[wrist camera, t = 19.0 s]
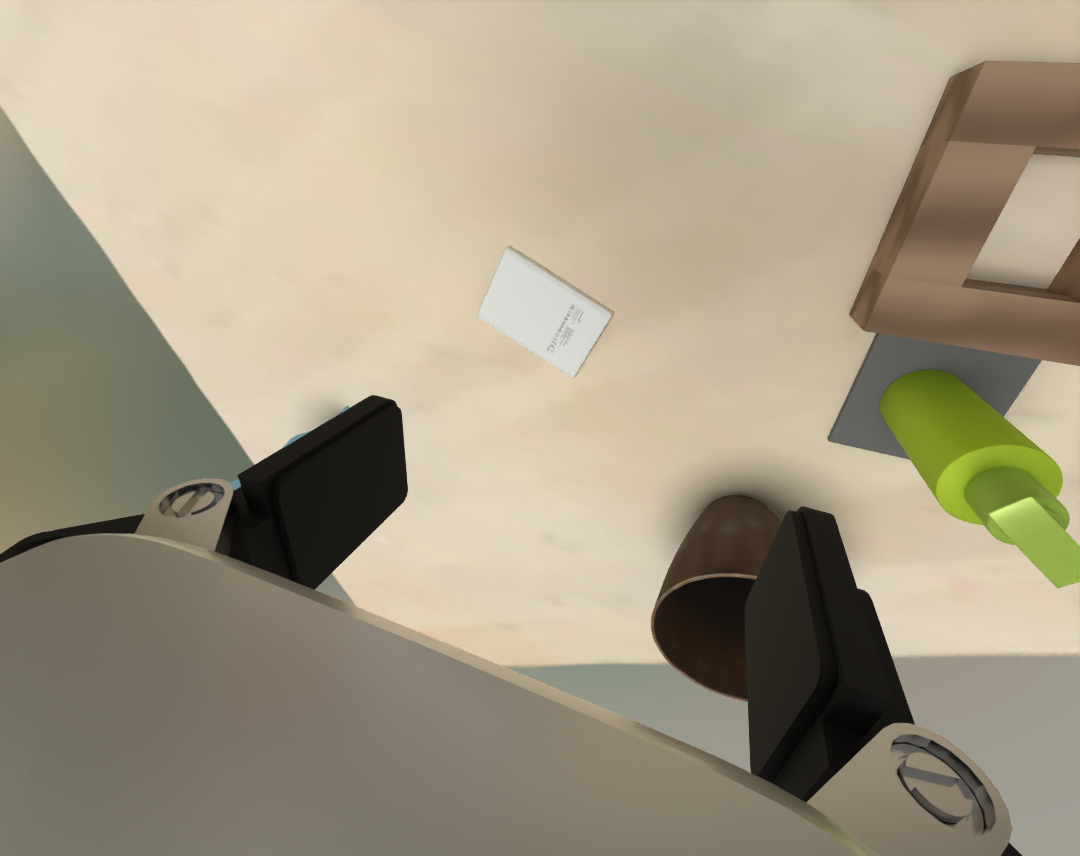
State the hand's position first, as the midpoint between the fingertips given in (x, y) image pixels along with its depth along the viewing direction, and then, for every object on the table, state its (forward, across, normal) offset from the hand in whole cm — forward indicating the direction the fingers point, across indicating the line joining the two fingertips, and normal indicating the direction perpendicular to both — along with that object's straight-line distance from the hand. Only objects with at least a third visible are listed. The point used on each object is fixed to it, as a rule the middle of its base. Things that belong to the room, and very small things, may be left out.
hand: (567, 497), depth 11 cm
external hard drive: (+37, +13, +7) cm, 40 cm away
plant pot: (+36, -12, +26) cm, 46 cm away
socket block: (+36, -22, -6) cm, 43 cm away
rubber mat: (+36, -22, +8) cm, 43 cm away
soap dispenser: (+36, -21, +8) cm, 42 cm away
